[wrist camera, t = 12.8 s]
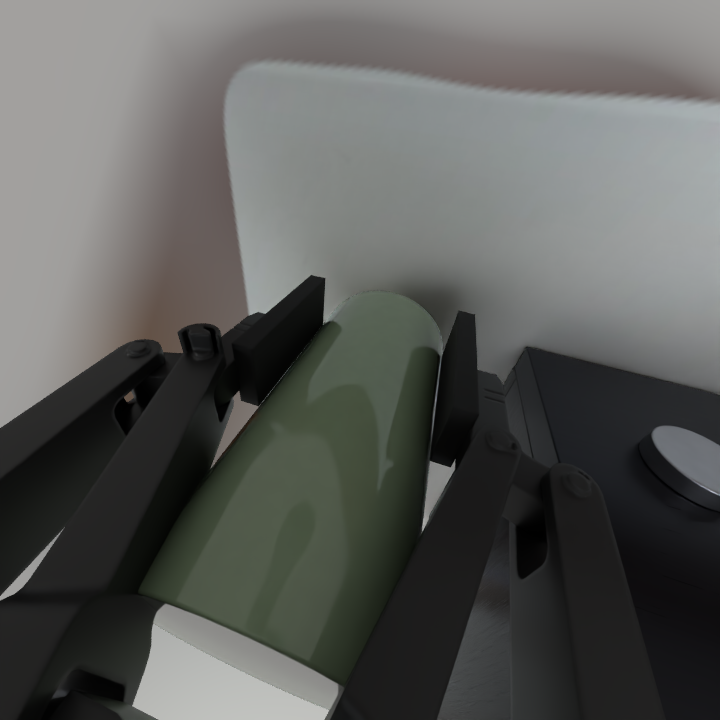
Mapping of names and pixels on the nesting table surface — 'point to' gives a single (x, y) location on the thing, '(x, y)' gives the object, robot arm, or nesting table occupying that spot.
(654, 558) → the microwave
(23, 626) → the robot arm
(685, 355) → the nesting table surface
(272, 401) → the canister
